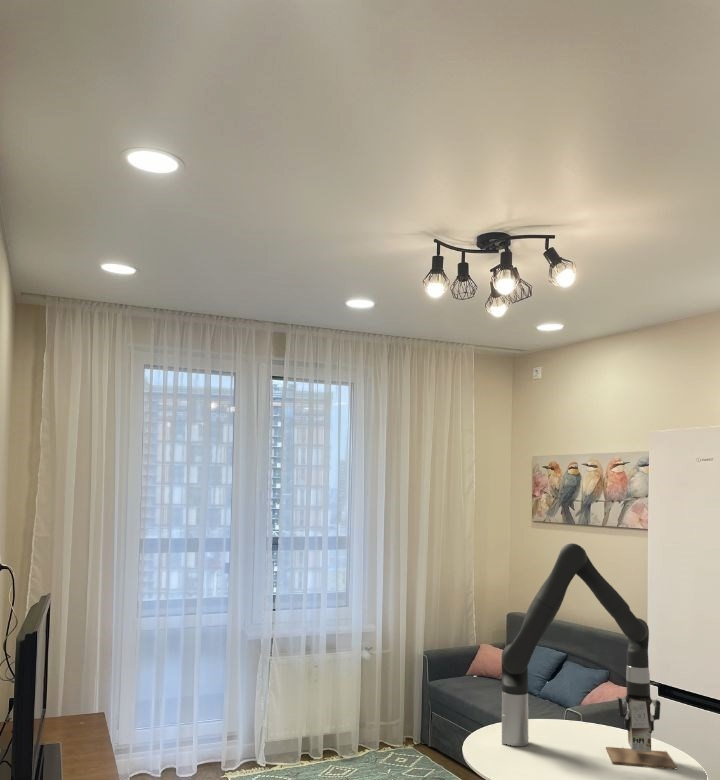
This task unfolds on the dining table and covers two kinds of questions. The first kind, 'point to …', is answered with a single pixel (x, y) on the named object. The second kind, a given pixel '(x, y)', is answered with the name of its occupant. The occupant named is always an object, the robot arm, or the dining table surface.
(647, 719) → the coffee box
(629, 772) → the dining table surface
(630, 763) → the walnut board
